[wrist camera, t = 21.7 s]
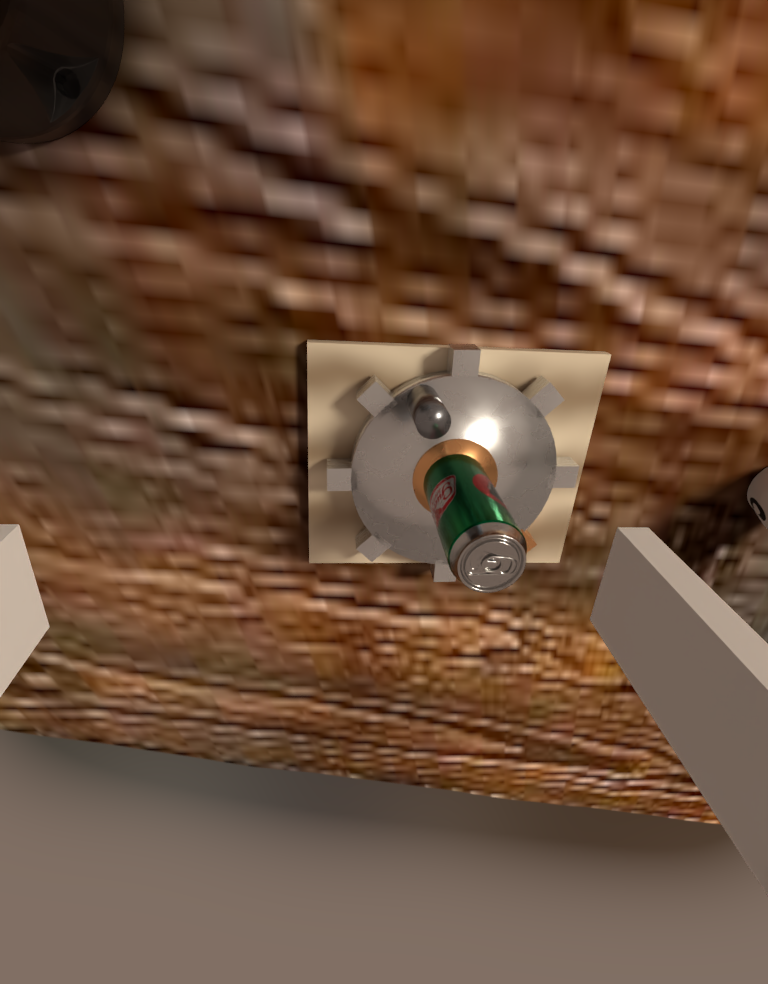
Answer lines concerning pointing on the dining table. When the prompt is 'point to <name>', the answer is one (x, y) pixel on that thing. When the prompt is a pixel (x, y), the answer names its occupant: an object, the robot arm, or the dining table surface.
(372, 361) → the base board
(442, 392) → the sprocket
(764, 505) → the cup
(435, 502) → the soda can
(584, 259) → the dining table surface
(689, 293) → the dining table surface
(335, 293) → the dining table surface
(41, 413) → the dining table surface
